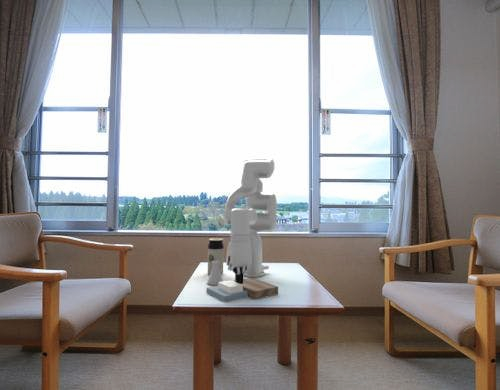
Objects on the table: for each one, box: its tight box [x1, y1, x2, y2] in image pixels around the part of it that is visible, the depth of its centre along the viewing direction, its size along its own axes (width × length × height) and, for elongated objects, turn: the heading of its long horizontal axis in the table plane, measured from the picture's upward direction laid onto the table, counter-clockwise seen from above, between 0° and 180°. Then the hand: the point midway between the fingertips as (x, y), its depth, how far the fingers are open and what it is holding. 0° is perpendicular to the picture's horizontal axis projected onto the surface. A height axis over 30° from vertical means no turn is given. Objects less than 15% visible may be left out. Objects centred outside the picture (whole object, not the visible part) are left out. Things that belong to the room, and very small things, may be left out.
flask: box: [206, 261, 224, 287], centre depth 141 cm, size 7×7×10 cm
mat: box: [206, 285, 249, 303], centre depth 124 cm, size 11×14×2 cm
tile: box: [217, 279, 243, 294], centre depth 124 cm, size 6×9×2 cm, turn 37°
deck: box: [233, 277, 279, 300], centre depth 130 cm, size 12×18×3 cm, turn 37°
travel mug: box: [207, 237, 224, 276], centre depth 160 cm, size 8×8×18 cm
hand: (239, 283), depth 127 cm, fingers closed
